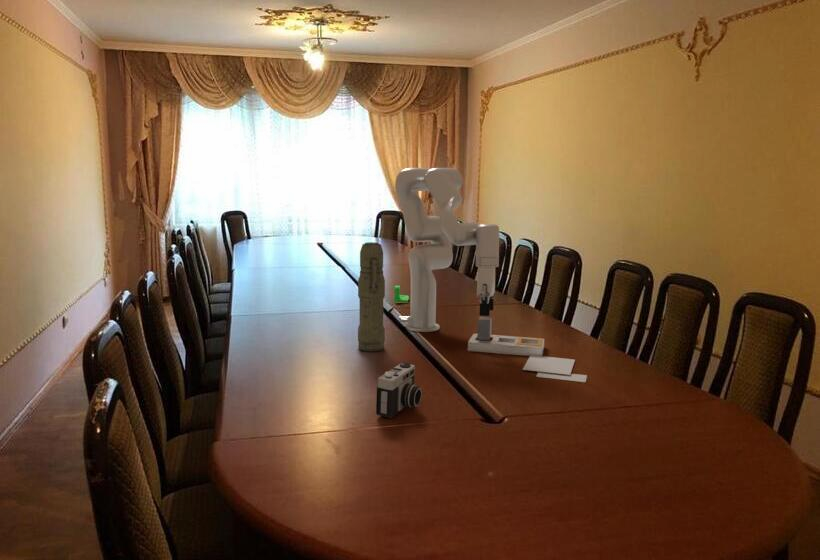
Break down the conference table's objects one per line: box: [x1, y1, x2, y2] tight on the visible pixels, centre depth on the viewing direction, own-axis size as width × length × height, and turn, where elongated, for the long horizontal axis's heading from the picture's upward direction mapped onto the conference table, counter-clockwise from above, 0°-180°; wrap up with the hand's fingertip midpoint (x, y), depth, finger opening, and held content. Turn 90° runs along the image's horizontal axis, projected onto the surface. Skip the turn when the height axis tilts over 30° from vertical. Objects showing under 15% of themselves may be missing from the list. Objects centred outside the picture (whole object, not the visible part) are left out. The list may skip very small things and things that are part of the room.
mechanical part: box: [394, 285, 410, 303], centre depth 290 cm, size 12×6×8 cm, turn 178°
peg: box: [477, 316, 493, 341], centre depth 215 cm, size 4×4×10 cm
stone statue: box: [357, 242, 386, 352], centre depth 211 cm, size 9×12×35 cm
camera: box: [375, 362, 423, 419], centre depth 158 cm, size 14×9×10 cm, turn 148°
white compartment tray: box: [467, 333, 545, 357], centre depth 214 cm, size 24×12×3 cm, turn 75°
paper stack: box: [522, 355, 588, 383], centre depth 191 cm, size 23×25×1 cm
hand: (486, 312), depth 214 cm, fingers open, 9 cm apart
